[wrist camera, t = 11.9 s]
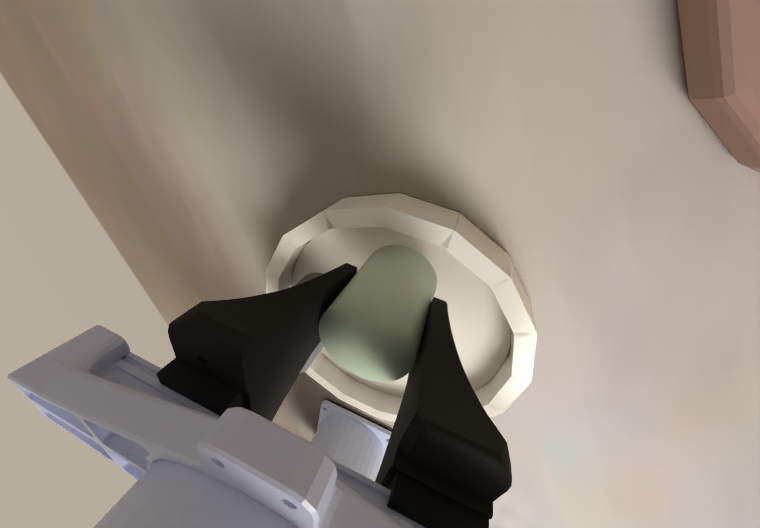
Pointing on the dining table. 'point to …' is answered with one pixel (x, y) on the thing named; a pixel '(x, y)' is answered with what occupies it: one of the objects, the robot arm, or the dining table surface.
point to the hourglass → (725, 70)
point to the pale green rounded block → (381, 315)
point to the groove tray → (454, 285)
